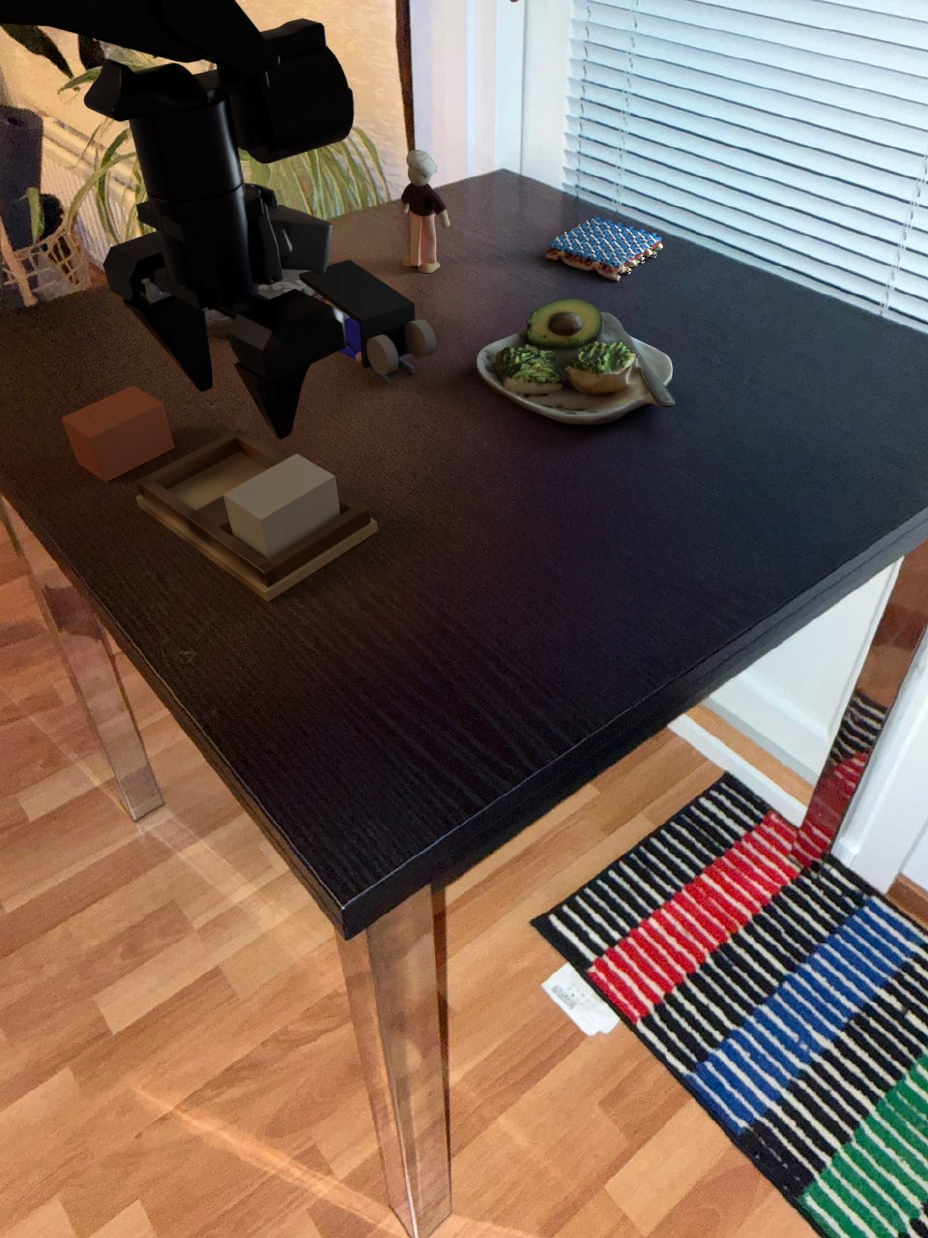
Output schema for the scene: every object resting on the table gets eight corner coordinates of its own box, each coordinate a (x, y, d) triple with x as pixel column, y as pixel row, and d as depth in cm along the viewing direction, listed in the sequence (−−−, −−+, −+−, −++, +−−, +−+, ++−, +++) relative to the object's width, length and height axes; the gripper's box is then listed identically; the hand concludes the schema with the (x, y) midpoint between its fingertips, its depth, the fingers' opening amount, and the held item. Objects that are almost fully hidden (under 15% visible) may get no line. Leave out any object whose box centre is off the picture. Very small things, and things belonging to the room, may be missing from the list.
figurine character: (440, 387, 91) (353, 317, 98) (443, 318, 85) (350, 249, 93) (385, 411, 88) (299, 337, 95) (384, 341, 82) (293, 268, 90)
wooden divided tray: (378, 531, 73) (375, 506, 71) (267, 602, 67) (261, 577, 66) (246, 449, 82) (241, 425, 80) (138, 506, 76) (130, 481, 74)
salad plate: (728, 391, 87) (737, 346, 84) (591, 462, 79) (595, 415, 76) (585, 317, 98) (588, 275, 95) (451, 373, 90) (450, 329, 87)
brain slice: (231, 254, 111) (226, 229, 109) (353, 279, 105) (350, 253, 103) (121, 325, 98) (113, 298, 96) (252, 358, 93) (247, 330, 91)
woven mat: (540, 259, 108) (541, 242, 107) (592, 230, 114) (593, 213, 113) (615, 283, 104) (617, 265, 102) (665, 251, 109) (667, 234, 108)
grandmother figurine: (388, 265, 108) (379, 149, 99) (407, 253, 110) (400, 139, 101) (442, 280, 105) (439, 162, 96) (461, 268, 107) (459, 151, 98)
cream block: (271, 567, 69) (260, 519, 66) (234, 541, 71) (222, 494, 68) (342, 523, 72) (335, 475, 69) (304, 499, 75) (296, 452, 71)
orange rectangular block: (105, 483, 78) (89, 437, 75) (77, 462, 81) (60, 417, 77) (175, 447, 82) (162, 403, 79) (146, 429, 84) (133, 384, 81)
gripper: (401, 183, 54) (416, 414, 65) (215, 118, 64) (255, 329, 75) (247, 242, 49) (291, 484, 60) (68, 161, 58) (134, 383, 69)
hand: (243, 412), depth 66 cm, fingers open, 9 cm apart
